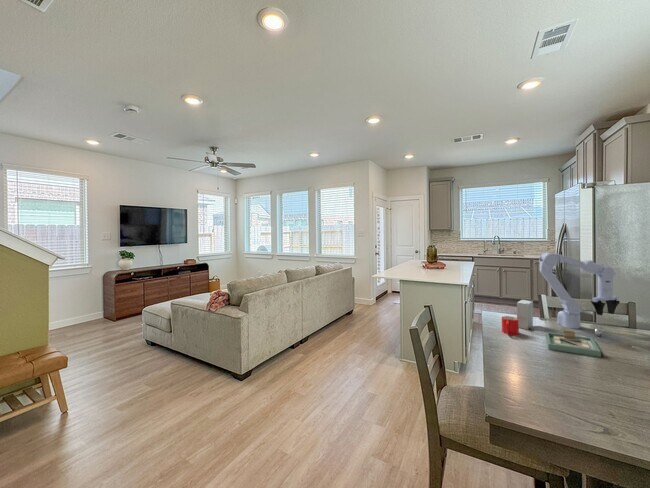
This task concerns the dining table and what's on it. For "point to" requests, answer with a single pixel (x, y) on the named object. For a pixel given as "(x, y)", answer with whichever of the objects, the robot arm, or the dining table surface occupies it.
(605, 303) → the robot arm
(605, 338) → the stake board
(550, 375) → the dining table surface
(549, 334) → the tray
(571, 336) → the tan wooden square frame
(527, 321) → the skincare box
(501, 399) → the dining table surface
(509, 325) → the mug
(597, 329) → the stake
